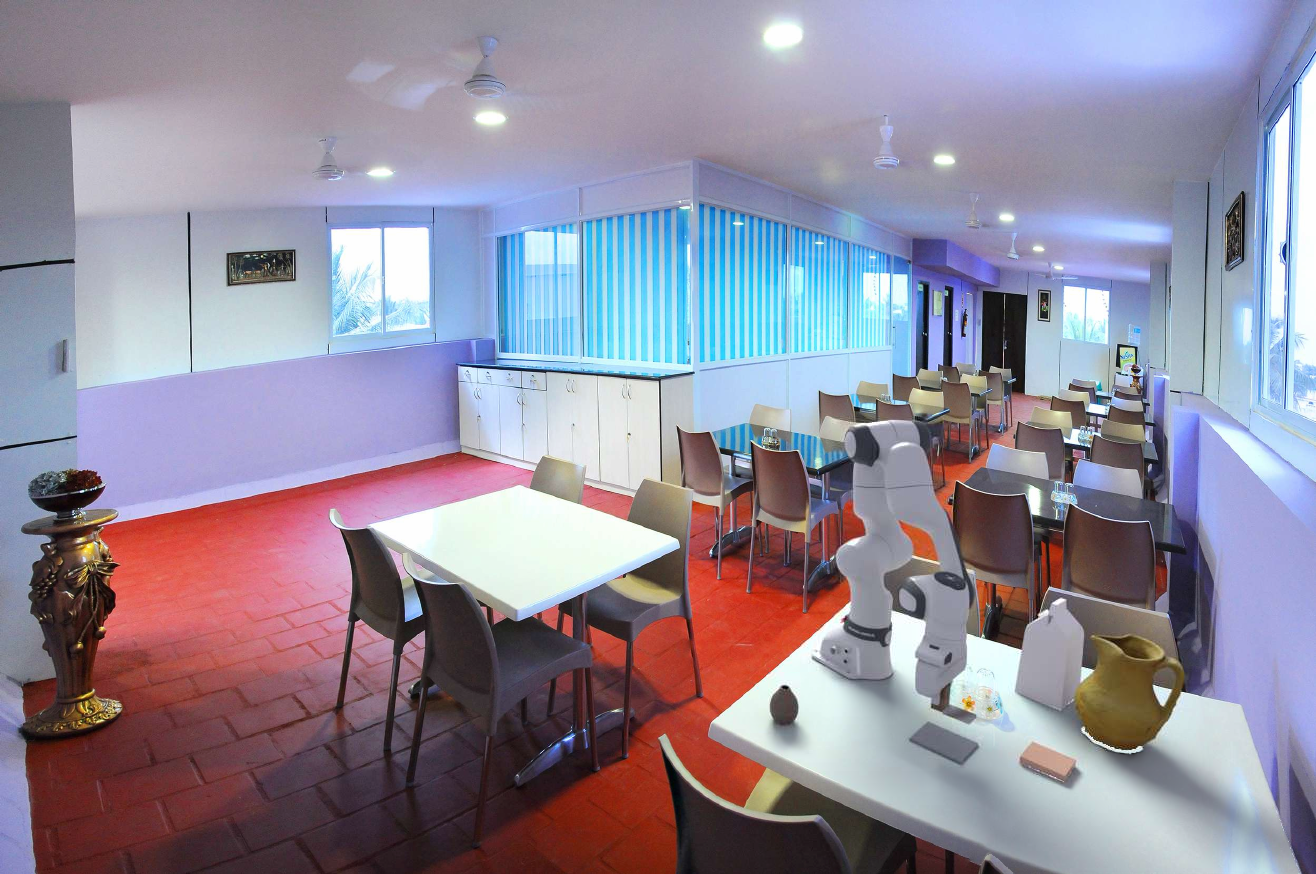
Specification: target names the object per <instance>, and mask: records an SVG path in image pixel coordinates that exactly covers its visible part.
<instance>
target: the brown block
mask: <svg viewBox="0 0 1316 874" xmlns="http://www.w3.org/2000/svg"><path fill="white" fill-rule="evenodd" d="M951 688H952V685H951V684H949V683H948V684H947V685H946V686H945V687H944V688H943V689H941V692H940V696H942V699H941V703H940V704H939V705H935V704H932V703H931V702H930V709H932V710H935V711H937V712H940V713H942V715H944V716H946V717H949V718H951V719H954V720H956V721H959V722H962V723H963V724H966V725H971V724H972V722H973V721H974V720H976V718H977V714H975V713H974V712H971V711H968V710H966V709H963V708H961V707H958V706H956V705H953V704H950V699H951Z"/></svg>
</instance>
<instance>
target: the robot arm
mask: <svg viewBox="0 0 1316 874" xmlns="http://www.w3.org/2000/svg"><path fill="white" fill-rule="evenodd" d="M932 441H933V440H932V435H931V430H930V429H929V427H928V426H927V424H926V423H925V422H923V421H920V420H916V419H908V420H900V419H888V420H887V419H886V420H881V421H874V422H868V423H865V422H862V423H861V422H860V423H858V424H854V425H852V426H850V427H848V429H847V431H846V433H845V434H844V450H845V451H844V452H845V454H846V456H847V458H848V459H849V460H851V461H852V462H853V463H854V464H853V471H852V495H853V497H852V498H853V499H852V500H853V501H852V503H853V513H854V515H855V516H857V518H858V519H861V520H862V522H863V523H862V524H863V525H864V529H865V535H863V536H859V537H855V538H852V539H850V540H848V541H847V542H845V543H844V544H842V545H841V546H840V547H839V548H838V549H837V550H836V555H835V562H836V566H837V568H838V571H839V572H840V573H841V574H842V575H843V576H844V577H845V578H846V579H847V581H848V585H849V588H850V607H849V611H848V614H845V615H844V616H843V617H842V618H841V619H840V624H842V623H843V624H842V625H841V626H839V627H836V628H833V629H832V630H830V631H828V632H827V633H826V634H825V635H824V636H823V638H822V640H821V643H820V644H819V645H817V646H815V648H814V649H813V650H812V654H811V658H812V659H814V660H815V661H817V662H819V663H821V664H823V665H824V666H825V667H828V668H829V669H832V670H834V671H835V672H837V673H838V674H840V675H842V676H844V677H846V678H847V679H849V680H858V679H859V680H860V679H862V680H883V679H887V678H889V677H890V676H891V675H893V672H894V669H893V666H892V659H891V642H892V638H893V637H892V636H893V622H892V613H893V601H894V599H893V595H892V593H891V592H890V591H889V590H888V589H887V588H886V587H885V583H884V576H885V574H886V573H888V572H892V571H894V570H897V569H900V568H901V567H903V566H904V565H906V564H907V563H909V562H910V561H911V560H912V558H913V556H914V544H913V541H912V539H911V538H910V537H909V536H908V535H907V533H905V532H904V530H903V529H902V527H901V524H900V522H902V523H904V524H906V525H908V526H911V527H913V528H917V529H920V530H921V531H923V532H925V533H926V534H928V535H929V537H930V538H931V540H932V542H933V545H934V549H935V552H936V556H937V559H938V563H939V566H940V571H937V572H934V573H933V574H921V575H913V576H907V577H905V578H903V579H902V580H901V582H900V583H899V585H898V588H897V589H898V590H897V602H898V605H899V606H900V609H902V611H903V612H904V613H905V614H907V615H908V616H910V617H912V618H915V619H916V620H922V621H924V622H925V628H924V634H923V636H922V640H921V641H920V643H919V645H918V646H917V647H916V649H915V651H914V657H915V659H917V661H916V664H915V672H914V673H915V678H914V688H915V691H916V693H917V694H919V695H920V696H923V697H926V698H928V699H930V704H931V703H932V704H935V705H939V704H940V703H941V699H942V696H940V692H941V689H943V688H944V687H945V686H946V685H947V684H948V683H949V684H951V686H952V685H953V683H954V680H955V678H957V677H958V676H959V675H960V674H961V673H962V672H964V671H965V670H966V667H967V661H968V645H967V638H968V637H967V636H968V632H967V628H966V627H967V625H966V624H967V621H969V614H970V610H971V609H972V607H973V605H974V603H975V600H976V590H975V587H974V584H973V582H972V579H971V578H970V576H969V573H968V571H967V568H966V565H965V564H966V563H965V561H964V559H963V554H962V550H961V548H960V544H959V540H958V537H957V534H956V529H955V526H954V524H953V520H952V518H951V516H950V513H948V511H947V510H946V508H944V507H943V506H941V504H940V502H939V501H938V498H937V497H936V493H935V491H934V490H935V489H934V486H933V485H934V483H933V479H932V478H933V477H932V473H931V469H930V465H929V461H928V457H927V455H928V453H930V450H931V448H932Z"/></svg>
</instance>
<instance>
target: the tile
mask: <svg viewBox="0 0 1316 874" xmlns="http://www.w3.org/2000/svg"><path fill="white" fill-rule="evenodd" d="M1018 763H1019V764H1020V763H1022V764H1023V766H1025V765H1026V766H1025V767H1027V766H1030V767H1031V768H1033V769H1032V770H1034V769H1036V770H1039V771H1040V772H1043V773H1045V774H1048V775H1051V776H1053V777H1056V778H1057V779H1060V780H1062V781H1065V780H1066V781H1067V779H1068V778H1069V777H1068V775H1069V774H1070V772H1071V771H1072V770H1073V771H1074V769H1075V768H1074V766H1075V767H1076V765H1077V759H1074V758H1073V757H1070V756H1068V755H1066V754H1063V753H1060V752H1058V751H1056V750H1054V749H1051V748H1048V747H1046V746H1044V745H1042V744H1040V743H1037V742H1035V741H1031V742H1030V744H1029V745H1028V746H1027V747H1026V749H1025V750H1024V751H1023V752H1022V753H1021V754H1020V756H1019V761H1018ZM1022 764H1021V765H1022ZM1031 768H1030V769H1031ZM1073 768H1074V769H1073ZM1036 770H1035V771H1036ZM1073 771H1072V772H1073ZM1040 772H1039V773H1040ZM1072 772H1071V773H1072ZM1043 773H1042V774H1043ZM1045 774H1044V775H1045ZM1070 775H1071V774H1070ZM1070 775H1069V776H1070ZM1067 777H1068V778H1067ZM1066 778H1067V779H1066ZM1066 781H1065V782H1066Z"/></svg>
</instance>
